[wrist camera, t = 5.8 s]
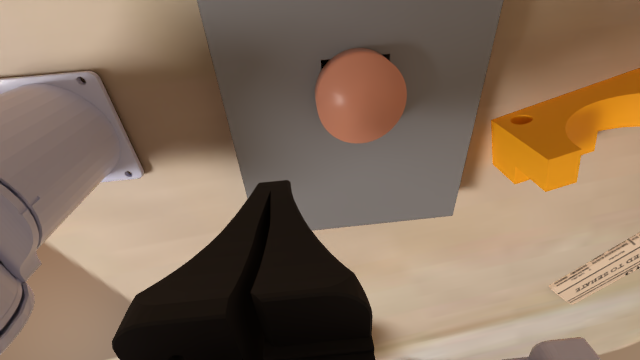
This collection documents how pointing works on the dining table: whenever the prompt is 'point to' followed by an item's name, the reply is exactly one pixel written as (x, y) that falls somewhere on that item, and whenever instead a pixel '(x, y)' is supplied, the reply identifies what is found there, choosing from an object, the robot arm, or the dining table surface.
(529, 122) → the pipe clamp
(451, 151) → the plate
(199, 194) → the dining table surface
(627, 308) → the dining table surface
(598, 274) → the newspaper
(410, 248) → the dining table surface
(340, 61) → the knob
